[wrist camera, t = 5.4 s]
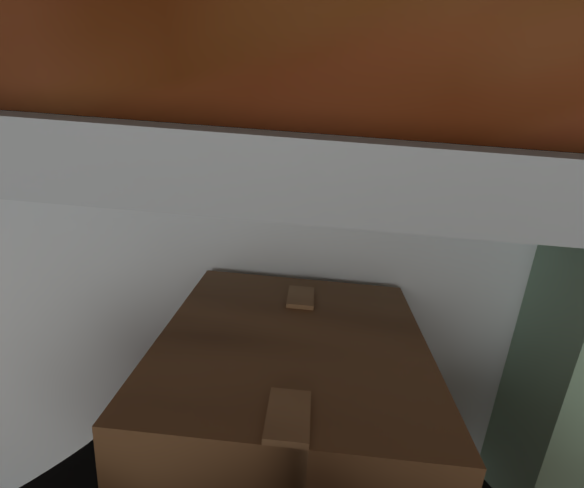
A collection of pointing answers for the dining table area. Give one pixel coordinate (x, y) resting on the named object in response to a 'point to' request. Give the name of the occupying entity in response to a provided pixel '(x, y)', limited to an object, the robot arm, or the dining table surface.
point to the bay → (288, 267)
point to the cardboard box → (286, 395)
